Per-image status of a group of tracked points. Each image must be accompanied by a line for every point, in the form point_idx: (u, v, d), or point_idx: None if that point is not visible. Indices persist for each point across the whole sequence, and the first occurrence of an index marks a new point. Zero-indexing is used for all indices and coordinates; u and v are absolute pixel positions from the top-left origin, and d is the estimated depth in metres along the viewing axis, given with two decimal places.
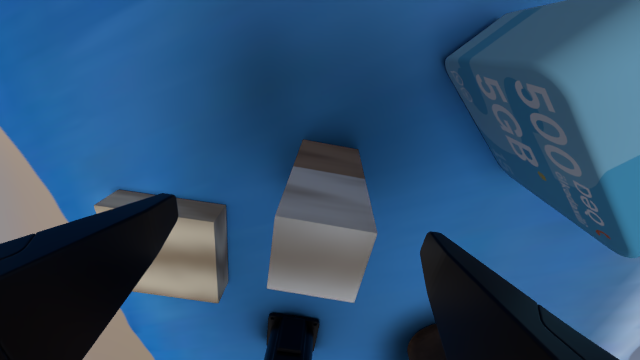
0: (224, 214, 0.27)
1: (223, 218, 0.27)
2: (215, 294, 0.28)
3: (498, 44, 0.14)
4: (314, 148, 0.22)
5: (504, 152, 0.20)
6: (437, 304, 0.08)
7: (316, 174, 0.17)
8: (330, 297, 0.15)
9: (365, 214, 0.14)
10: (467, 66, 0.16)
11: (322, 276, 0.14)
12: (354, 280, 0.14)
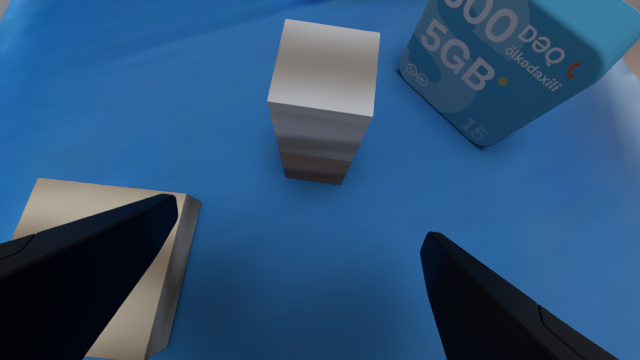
0: (196, 211, 0.22)
1: (194, 212, 0.22)
2: (145, 337, 0.17)
3: None
4: None
5: (469, 109, 0.23)
6: (437, 304, 0.08)
7: None
8: (344, 110, 0.12)
9: None
10: (414, 40, 0.23)
11: (333, 81, 0.13)
12: (368, 84, 0.13)
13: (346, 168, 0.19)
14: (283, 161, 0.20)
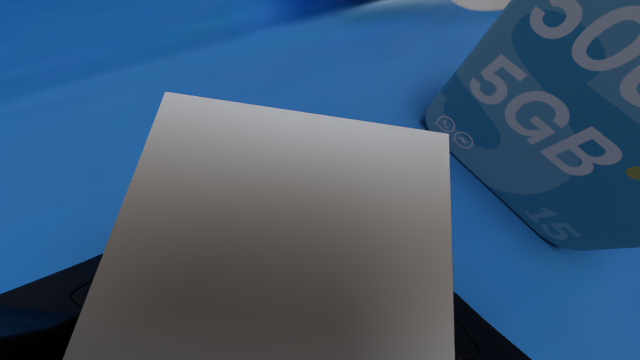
0: None
1: None
2: None
3: None
4: None
5: (548, 196, 0.14)
6: None
7: None
8: None
9: None
10: (455, 84, 0.14)
11: (302, 332, 0.04)
12: (427, 342, 0.04)
13: None
14: None
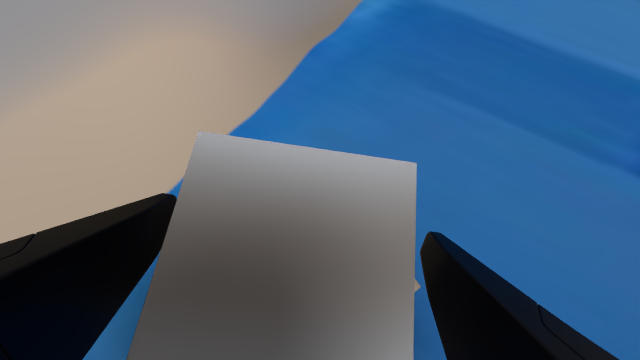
0: None
1: None
2: None
3: None
4: None
5: None
6: (437, 304, 0.08)
7: None
8: None
9: None
10: None
11: (303, 312, 0.05)
12: (394, 319, 0.05)
13: None
14: None
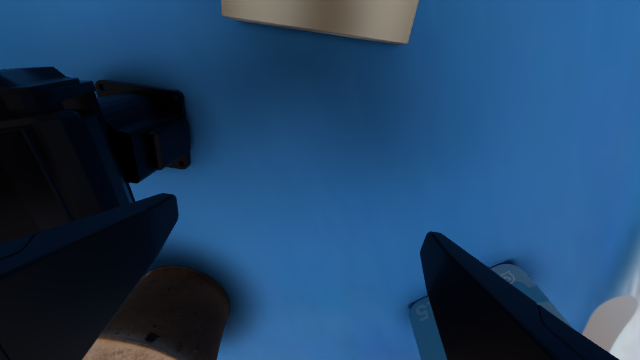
0: (385, 42, 0.18)
1: None
2: (245, 14, 0.15)
3: None
4: None
5: None
6: (437, 304, 0.08)
7: None
8: None
9: None
10: (539, 297, 0.22)
11: None
12: None
13: None
14: None
